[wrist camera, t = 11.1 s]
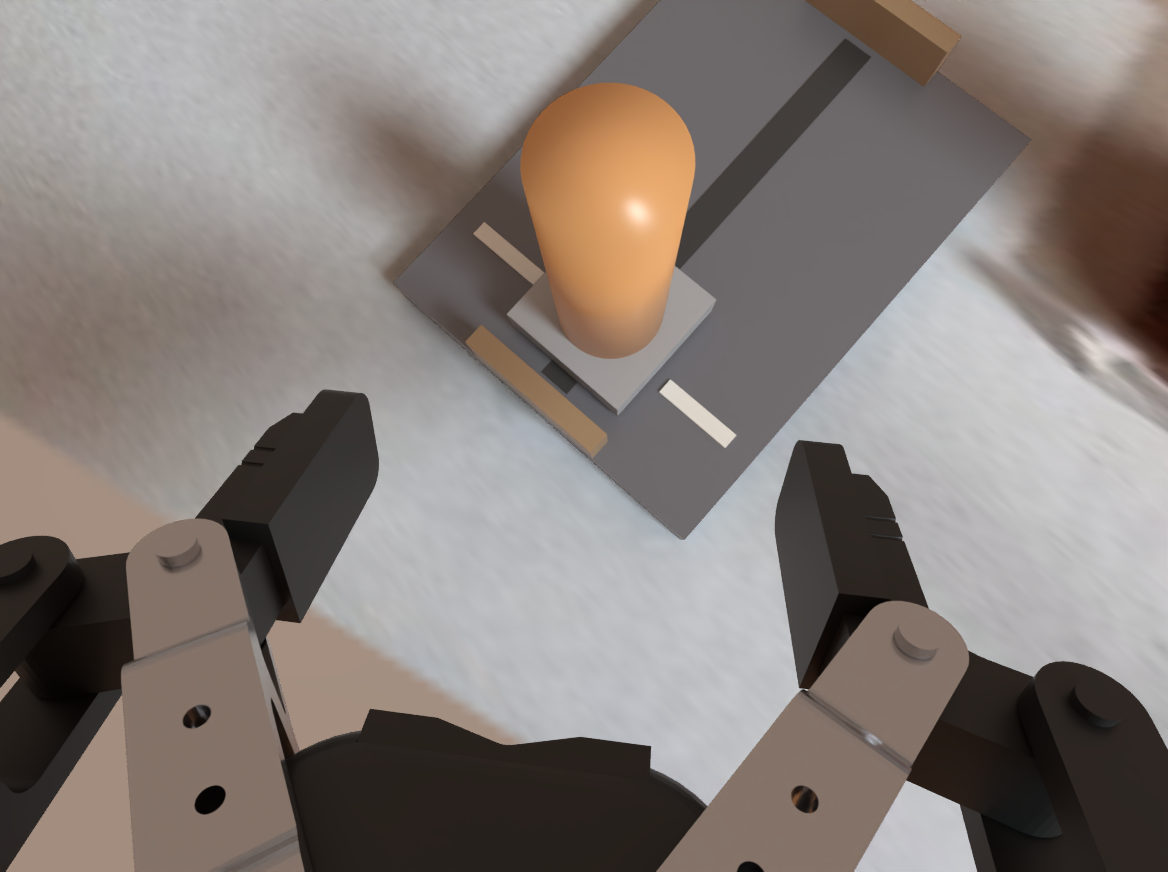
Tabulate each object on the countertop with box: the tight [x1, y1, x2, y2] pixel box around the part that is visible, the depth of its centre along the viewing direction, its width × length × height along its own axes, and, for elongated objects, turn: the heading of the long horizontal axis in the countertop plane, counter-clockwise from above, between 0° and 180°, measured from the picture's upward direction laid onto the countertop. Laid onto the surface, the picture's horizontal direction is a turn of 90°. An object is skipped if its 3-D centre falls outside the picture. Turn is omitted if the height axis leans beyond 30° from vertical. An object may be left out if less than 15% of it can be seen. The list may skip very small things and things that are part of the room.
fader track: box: [394, 0, 1032, 540], centre depth 25 cm, size 14×19×3 cm
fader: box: [507, 83, 716, 416], centre depth 19 cm, size 5×5×10 cm
